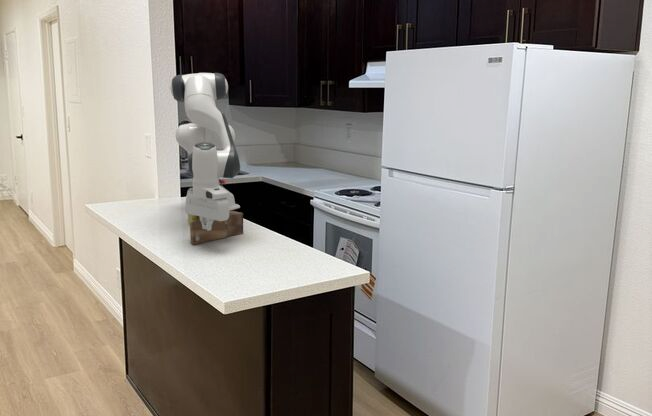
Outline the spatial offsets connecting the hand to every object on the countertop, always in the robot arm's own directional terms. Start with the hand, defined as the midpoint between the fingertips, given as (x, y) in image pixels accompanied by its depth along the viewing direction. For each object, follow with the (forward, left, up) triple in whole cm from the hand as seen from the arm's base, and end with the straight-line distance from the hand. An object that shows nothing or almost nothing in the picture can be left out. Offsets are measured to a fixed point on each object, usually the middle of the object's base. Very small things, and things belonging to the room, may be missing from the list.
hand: (206, 229), depth 205 cm
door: (-5, -4, -6) cm, 9 cm away
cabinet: (-17, -13, -6) cm, 22 cm away
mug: (-18, -29, -6) cm, 34 cm away
